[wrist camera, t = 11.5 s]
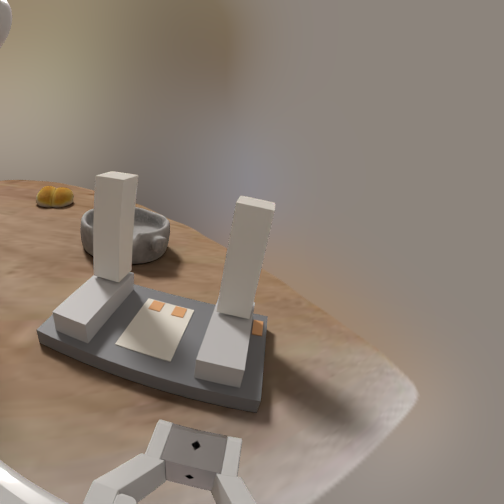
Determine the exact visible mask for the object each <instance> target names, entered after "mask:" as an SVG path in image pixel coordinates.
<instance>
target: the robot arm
mask: <svg viewBox="0 0 504 504" xmlns="http://www.w3.org/2000/svg"><path fill="white" fill-rule="evenodd" d="M11 23H12V11H11V8H10V5H9V4H8V2H7V1H6V0H0V47H1V46H2V45H3V43H4V42H5V40H6V38H7V36H8V34H9V31H10V28H11ZM241 446H242V439H241V438H235V437H230V436H228V437H227V436H226V435H221V434H216V433H211V432H206V431H201V430H196V429H192V428H188V427H184V426H181V425H177V424H174V423H171V422H167V421H164V420H159V421H158V423H157V425H156V427H155V430H154V432H153V435H152V437H151V440H150V443H149V445H148V448H147V450H146V453H145V454H143V453H140V454H139V455H137V456H136V457H134V458H132V459H131V460H129V461H127V462H125V463H124V464H122V465H120V466H119V467H117V468H115V469H113V470H112V471H110V472H108V473H106V474H105V475H103V476H101V477H99V478H97V479H95V480H93V482H92V485H91V487H90V489H89V491H88V493H87V495H86V498H85V500H84V502H83V504H137V503H138V502H139V501H140V500H142V499H143V498H145V497H146V496H147V495H149V494H150V493H151V492H153V491H154V490H155V489H156V488H158V487H159V486H160V485H162V484H163V483H164V482H165V481H166V480H168V481H172V482H176V483H180V484H184V485H188V486H192V487H196V488H200V489H204V490H209V491H211V493H212V495H213V498H214V500H215V502H216V504H257V503H256V501H255V500H254V498H253V497H252V495H251V493H250V492H249V490H248V488H247V486H246V485H245V483H244V481H243V480H242V478H241V477H237V476H238V468H239V461H240V454H241ZM0 504H69V503H68V502H66V501H64V500H62V499H60V498H58V497H56V496H55V495H53V494H51V493H49V492H48V491H46V490H44V489H43V488H41V487H39V486H38V485H36V484H34V483H33V482H31V481H30V480H28V479H27V478H25V477H24V476H22V475H21V474H19V473H18V472H16V471H15V470H13V469H12V468H11V467H9V466H8V465H6V464H5V463H4V462H2V461H1V460H0Z"/></svg>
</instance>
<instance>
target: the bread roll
mask: <svg viewBox="0 0 504 504" xmlns="http://www.w3.org/2000/svg"><path fill="white" fill-rule="evenodd" d="M73 198H74V196H73V193H72V191H71V190H70V189H68V188H63V187H61V188H57V189H56V188H54V187H52V186H46V187H44V188H42V189H41V190H40V192H39V193H38V194H37V196H36V203H37V204H38V205H39V206H42V207H51V206H52V207H56V208H58V207H64V206H67V205H70V204H71V203H72V202H73Z"/></svg>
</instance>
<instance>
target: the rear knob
mask: <svg viewBox="0 0 504 504" xmlns="http://www.w3.org/2000/svg"><path fill="white" fill-rule="evenodd" d="M137 181H138V175H134V174H127V173H120V172H114V171H111V172H107V173H104V174H100V175H96V180H95V195H94V220H93V262H94V275H95V276H98V277H102V278H105V279H109V280H112V281H115V282H120V281H121V280H122V279H123V278H124V277H125V276H126V275H127V274H128V273H129V272H130V271H131V270H132V246H133V228H134V214H135V203H136V192H137V183H138V182H137Z"/></svg>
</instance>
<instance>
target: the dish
mask: <svg viewBox="0 0 504 504" xmlns="http://www.w3.org/2000/svg"><path fill="white" fill-rule="evenodd" d="M93 220H94V209H91V210H89V211H87V212H86V213H85V214H84V215H83V217H82V220H81V240H82V244H83V247H84V249H85V250H86V251H87V252H88V253H89V254H91V255H92V256H93ZM169 235H170V223H169V221H168V220H167V218H166V217H164V216H163V215H160V214H157V213H154V212H151V211H148V210H145V209H142V208H137V207H135V214H134V228H133V246H132V264H138V263H146V262H150V261H153V260H156V259H158V258H159V257H161V256H162V255H163V254H164V252H165V251H166V248H167V245H168V241H169Z"/></svg>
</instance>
